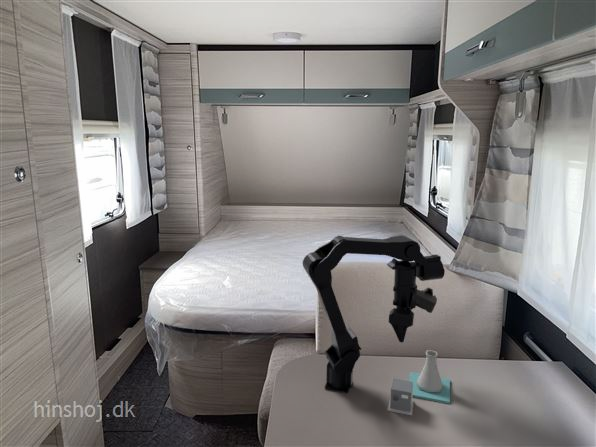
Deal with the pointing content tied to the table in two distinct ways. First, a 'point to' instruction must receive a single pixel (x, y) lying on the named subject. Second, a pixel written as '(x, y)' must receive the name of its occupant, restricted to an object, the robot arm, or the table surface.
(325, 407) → the table surface
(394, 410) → the box
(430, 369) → the flask
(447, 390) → the mat
